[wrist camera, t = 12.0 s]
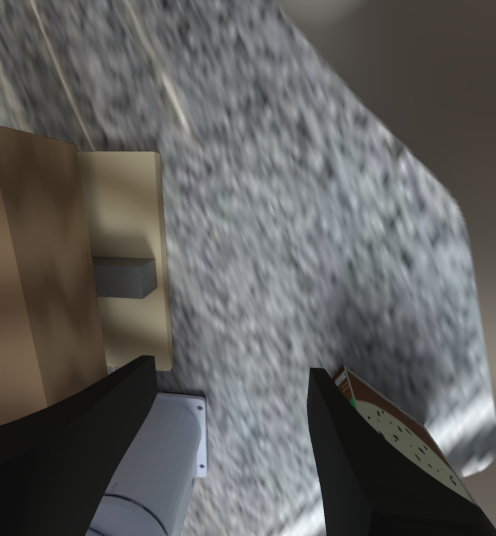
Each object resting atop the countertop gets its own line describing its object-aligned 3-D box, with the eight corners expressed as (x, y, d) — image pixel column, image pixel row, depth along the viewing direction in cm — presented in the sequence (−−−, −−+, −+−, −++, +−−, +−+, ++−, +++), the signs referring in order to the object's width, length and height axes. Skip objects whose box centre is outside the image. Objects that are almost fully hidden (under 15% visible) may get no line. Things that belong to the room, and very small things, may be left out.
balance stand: (173, 364, 25) (157, 391, 21) (52, 355, 26) (18, 379, 23) (160, 153, 20) (136, 145, 17) (12, 153, 21) (-38, 145, 18)
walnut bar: (109, 386, 22) (56, 447, 17) (63, 382, 22) (-4, 441, 17) (76, 144, 17) (-14, 122, 12) (18, 144, 17) (-95, 122, 12)
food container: (283, 399, 25) (288, 530, 15) (330, 354, 23) (368, 469, 13) (385, 473, 26) (450, 640, 16) (436, 435, 24) (543, 595, 14)
